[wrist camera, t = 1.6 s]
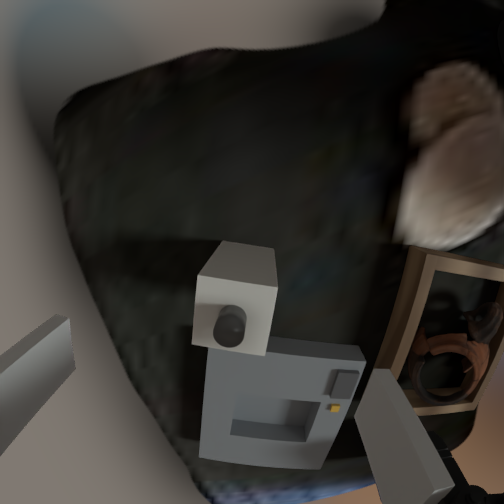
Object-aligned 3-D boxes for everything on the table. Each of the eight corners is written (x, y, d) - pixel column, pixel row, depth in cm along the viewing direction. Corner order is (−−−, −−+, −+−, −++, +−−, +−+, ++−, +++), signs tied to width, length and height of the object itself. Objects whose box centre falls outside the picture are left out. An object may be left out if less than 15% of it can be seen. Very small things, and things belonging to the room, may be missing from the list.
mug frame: (511, 266, 26) (530, 275, 22) (462, 394, 30) (474, 409, 26) (409, 244, 26) (427, 253, 23) (361, 397, 30) (369, 417, 26)
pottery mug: (453, 380, 30) (449, 425, 23) (397, 343, 33) (383, 384, 27) (514, 305, 24) (529, 342, 18) (454, 261, 28) (458, 288, 21)
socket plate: (358, 345, 28) (368, 365, 25) (317, 451, 32) (320, 472, 28) (214, 327, 28) (207, 346, 25) (203, 439, 32) (198, 460, 29)
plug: (273, 248, 27) (279, 301, 15) (265, 296, 28) (264, 375, 16) (222, 240, 27) (189, 286, 15) (216, 289, 28) (184, 361, 16)
